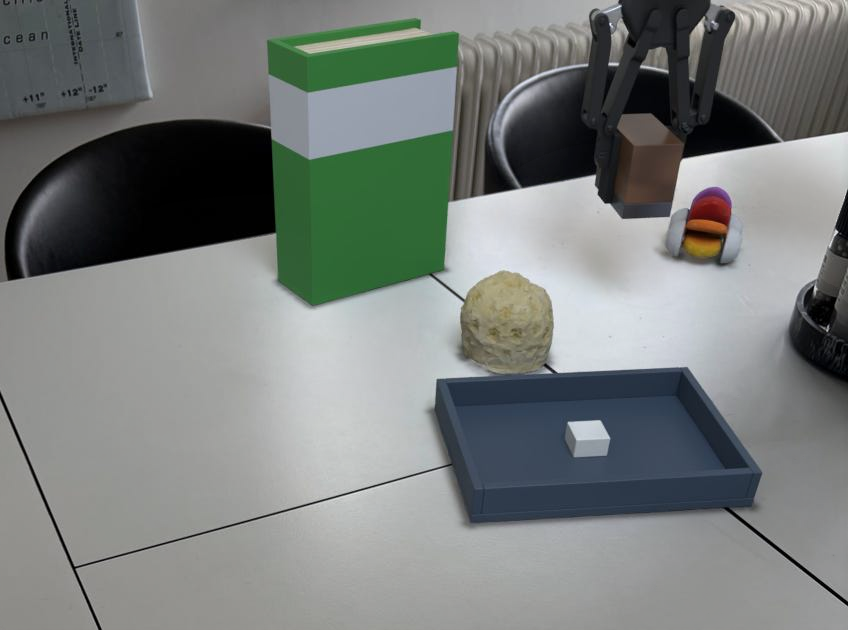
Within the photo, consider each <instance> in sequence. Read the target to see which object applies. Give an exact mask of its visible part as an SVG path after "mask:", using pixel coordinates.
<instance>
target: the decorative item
mask: <svg viewBox="0 0 848 630" xmlns="http://www.w3.org/2000/svg"><path fill="white" fill-rule="evenodd" d="M552 302H553V301H552V300H551V297H550V295H549V294H548V292H547V289H546V288H544V287H542V286H539V285H538V284H535V283H533V282H531V281H530V279H528V278H527V277H524V276H523V275H522V274H520V273H519V272H516V271H515V272H511V271H509V270H504V269H503V270H502V269H501V270H500V271H498V272H496V273H494V274H491V275H489V276H487V277H484V278H483V279H481V280H479V281H478V282H477V283H475V284H474V285H473V286H472V287H471V288H470V289H469V290H468V291H467V293H466V295H465V298H464V301H463V304H462V306H461V307H460V315H459V324H460V330H461V335H460V336H461V342H462V347H463V353H464V357H465V358H470V359H471V360H472V361H474V362H475V363H477V364H480V365H482V366H483V365H484V367H485V369H486V370H487V371H490V372H492V373H495V374H500V375H518V374H523V373H524V374H525V373H530V372H537V371H538V370H539V369H541V367H543V366H544V365H545V364H546V362H547V359H548V356H549V353H550V350H551V347H552V345H553V340H554V339H553V337H554V328H555V323H554V319H555V318H554V309H553V303H552Z"/></svg>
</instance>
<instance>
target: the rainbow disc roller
mask: <svg viewBox="0 0 848 630" xmlns="http://www.w3.org/2000/svg"><path fill="white" fill-rule="evenodd" d="M732 208H733V202H732V199H731V196H730V194H729V193H728V192H727V191H726V190H725V189H723V188H722V187H719V186H710V187H707V188H704V189H702V190H701V191H699V192H698V193H697V194H696V195H695V196H694V198H693V199H692V201H691V204H690V206H689V207H683V208H679V209H678V210H676V211H675V212H673V214H671V215H670V221H669V224H668V229H667V233H666V237H665V242H664V247H665V250H666V251H667V252H668V253H669V254H670V255H671V256H673V257H676V258H677V257H679V254H680V250H681V246H682V248H683V249H684V251H685V252H686V253H687V254H688V255H690V256H692V257H695V258H698V259H708V258H712V257H715V256H717V255H719V254H720V252H721V255H720V258H719V259H720V260H719V263H720V264H727V263H728V264H729V263H730V262H733V261H734V260H735V259H737V257H738V256H739V253H740V250H741V246H742V243H743V237H742V234H743V230H744V222H743V221H742V219H741V217H740V216H739V215H737V214H735V213H732Z"/></svg>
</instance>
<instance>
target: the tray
mask: <svg viewBox="0 0 848 630" xmlns="http://www.w3.org/2000/svg"><path fill="white" fill-rule="evenodd" d="M434 413H435V416H436V419H437V422H438V425H439V428H440V432H441V435H442V438H443V441H444V444H445V447H446V450H447V453H448V456H449V459H450V463H451V466H452V469H453V472H454V475H455V478H456V482H457V485H458V487H459V490H460V493H461V497H462V500H463V502H464V505H465V509H466V512H467V516H468V519H469V521H470V523H471V524H477V523H494V522H508V521H509V522H510V521H524V520H525V521H527V520H541V519H556V518H557V519H559V518H560V519H561V518H573V517H575V518H577V517H591V516H592V517H593V516H605V515H622V514H624V515H625V514H639V513H657V512H671V511H672V512H673V511H674V512H675V511H689V510H704V509H705V510H706V509H721V508H737V507H738V508H739V507H752V506H753V504H754V501H755V497H756V494H757V492H758V488H759V485H760V482H761V478H762V476H763V471H762V469H761V468H760V467H759V465H758V464H757V462H756V461H755V460H754V458H753V457H752V455H751V454H750V453H749V450H747V448H746V447H745V446H744V443H742V441H741V439H740V438H739V437H738V436H737V434H736V433H735V431H734V430H733V429H732V427H731V426H730V424H729V423H728V422H727V420H726V419H725V418H724V416H723V415H722V414H721V412H720V410H719V409H718V408H717V406H716V405H715V403H714V401H712V399H711V398H710V396H709V395H708V394H707V392H706V390H705V389H704V388H703V387H702V385H701V384H700V383H699V381H698V380H697V378H696V377H695V376H694V374H693V373H692V371H691V370H690V368H689V367H688V366H680V367H679V366H674V367H658V368H657V367H655V368H633V369H631V368H630V369H612V370H609V369H608V370H593V371H590V370H589V371H570V372H569V371H568V372H551V373H550V372H548V373H547V372H546V373H528V374H525V373H524V374H502V375H486V376H484V375H483V376H466V377H465V376H463V377H461V376H460V377H445V378H436V383H435V397H434ZM595 420H601V422H602V424H603V426H604V427H605V429H606V431H607V433H608V435H609V437H610V443H609V448H608V453H607V456H594V457H576V458H574V457H573V455H572V453H571V451H570V449H569V447H568V445H567V443H566V441H565V434H566V428H567V422H575V421H595Z"/></svg>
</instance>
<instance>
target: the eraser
mask: <svg viewBox="0 0 848 630" xmlns="http://www.w3.org/2000/svg"><path fill="white" fill-rule="evenodd" d="M665 126H666V125H664V124H663V123H662V122H661V120H659V119H658V118H657V117H655V115H653V114H652V113H651V112H650V113H622V116H621V118H620V121H619V123H618V126H617V129H616V130H617V131H618V132H619V133H620V134H621V135H622V141H621V148H620V154H619V161H618V167H617V174H616V180H615V187H614V193H613V200H612V204H609V205H610V206H611V207H612V209H613V210H614V211H615V212H616V214H617V215H618V216H619V217H620V218H621V220H636V219H654V218H655V219H658V218H671V215H672V214H671V213H672V208H673V202H674V198H675V192H676V188H677V182H678V177H679V173H680V172H679V171H680V167H681V162H682V161H681V157H682V152H683V146H684V143H683V142H681V141H680V140H679V139H678V138H677V137H676V136H675V135H674V134H673V133H672V132H671V131H670V130H668V129H667V128H666V127H665ZM600 174H601V168H599V167H598V166H597V165H596V173H595V179H594V186H595V188H596V189H597V190H598V188H599V181H600Z"/></svg>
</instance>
